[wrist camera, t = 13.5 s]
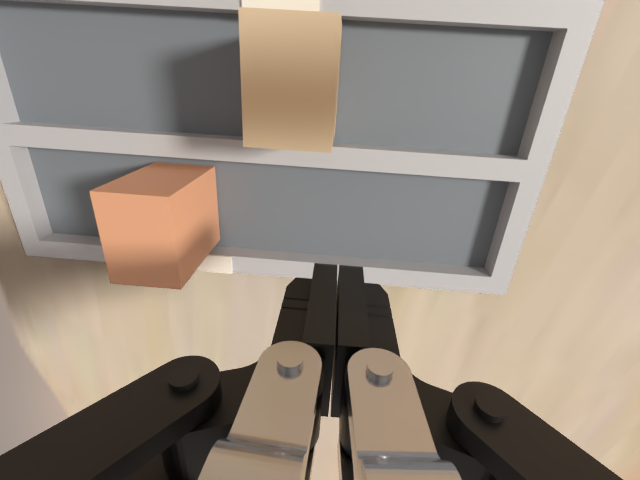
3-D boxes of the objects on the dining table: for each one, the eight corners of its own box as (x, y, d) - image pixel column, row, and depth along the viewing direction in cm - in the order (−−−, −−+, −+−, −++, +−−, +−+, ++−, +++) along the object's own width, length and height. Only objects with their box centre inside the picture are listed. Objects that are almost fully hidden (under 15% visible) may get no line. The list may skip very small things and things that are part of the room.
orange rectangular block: (155, 161, 17) (89, 190, 13) (214, 166, 17) (169, 197, 13) (166, 234, 19) (110, 283, 15) (220, 239, 19) (181, 289, 14)
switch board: (-20, -24, 16) (-77, -39, 14) (570, 9, 15) (607, -3, 13) (56, 238, 21) (24, 256, 19) (489, 274, 20) (506, 296, 18)
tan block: (271, 29, 15) (238, 6, 10) (342, 33, 15) (341, 12, 10) (271, 128, 16) (243, 146, 12) (334, 132, 16) (331, 153, 12)
